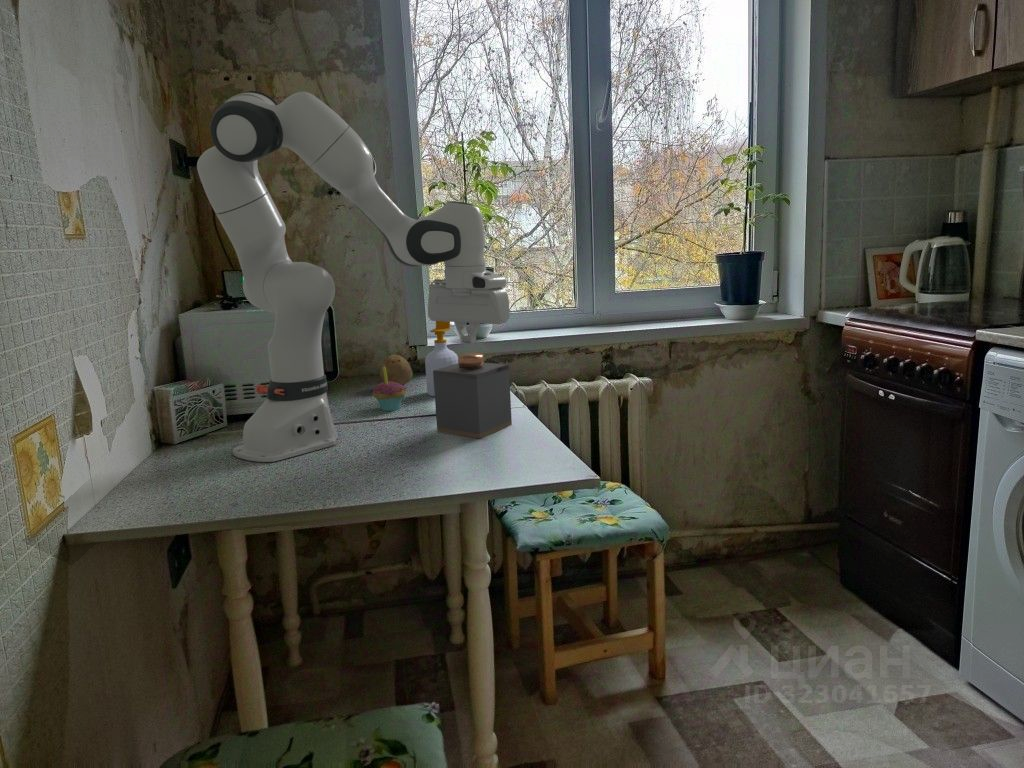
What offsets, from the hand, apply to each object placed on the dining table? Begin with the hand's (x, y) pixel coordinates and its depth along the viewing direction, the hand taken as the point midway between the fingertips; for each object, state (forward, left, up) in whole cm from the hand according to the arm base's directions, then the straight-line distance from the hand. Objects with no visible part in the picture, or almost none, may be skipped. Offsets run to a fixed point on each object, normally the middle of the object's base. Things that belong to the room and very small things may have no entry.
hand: (468, 342), depth 155 cm
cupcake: (+5, +31, -20) cm, 37 cm away
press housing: (0, 0, -20) cm, 20 cm away
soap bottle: (+24, +29, -20) cm, 43 cm away
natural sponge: (+23, +46, -20) cm, 55 cm away
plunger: (0, 0, -18) cm, 18 cm away
